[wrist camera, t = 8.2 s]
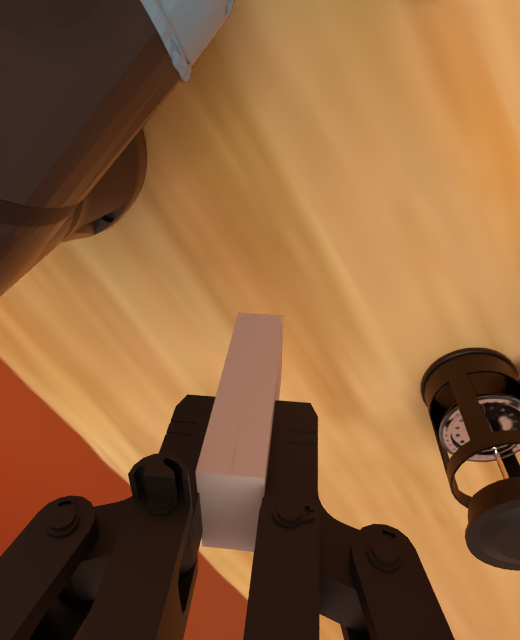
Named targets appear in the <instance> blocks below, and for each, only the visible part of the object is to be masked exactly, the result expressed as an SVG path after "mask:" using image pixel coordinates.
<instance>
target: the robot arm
mask: <svg viewBox="0 0 520 640" xmlns="http://www.w3.org/2000/svg"><path fill="white" fill-rule="evenodd" d="M233 3H234V0H0V296H1V295H2V294H4V293H5V292H6V291H7V290H8V289H9V288H10V287H11V286H13V285H14V284H15V283H16V282H17V281H18V280H19V279H20V278H21V277H23V276H24V275H25V274H26V273H27V272H28V271H29V270H30V269H32V268H33V267H34V266H35V265H36V264H37V263H38V262H39V261H40V260H42V259H43V258H44V257H45V256H46V255H47V254H48V253H49V252H51V251H52V250H53V249H54V248H55V247H56V246H57V245H58V244H59V243H61V242H66V241H71V240H76V239H81V238H86V237H90V236H93V235H95V234H98V233H100V232H102V231H104V230H106V229H107V228H109V227H110V226H112V225H113V224H114V223H116V222H117V221H118V220H119V219H120V218H121V217H122V216H123V215H124V214H125V213H126V212H127V211H128V209H129V208H130V207H131V206H132V205H133V203H134V202H135V200H136V198H137V197H138V195H139V193H140V190H141V188H142V185H143V182H144V178H145V172H146V161H147V158H146V144H145V139H144V134H143V130H142V127H143V126H144V125H145V123H146V122H147V121H148V120H149V118H150V117H151V116H152V115H153V113H154V112H155V111H156V110H157V109H158V107H159V106H160V105H161V104H162V102H163V101H164V100H165V99H166V97H167V96H168V95H169V94H170V93H171V91H172V90H173V89H174V88H175V86H176V85H177V84H178V83H179V81H180V80H182V81H183V82H187V81H188V80H189V78H190V77H191V75H192V71H191V68H192V66H193V65H194V63H195V62H196V61H197V59H198V58H199V56H200V55H201V54H202V52H203V51H204V50H205V48H206V47H207V46H208V44H209V43H210V42H211V40H212V39H213V38H214V36H215V35H216V34H217V32H218V31H219V30H220V28H221V27H222V25H223V24H224V23H225V21H226V20H227V18H228V16H229V14H230V12H231V9H232V6H233ZM283 318H284V316H281V315H265V314H249V313H238V316H237V320H236V324H235V328H234V331H233V335H232V339H231V342H230V346H229V350H228V353H227V357H226V361H225V364H224V368H223V372H222V376H221V379H220V383H219V387H218V390H217V394H216V397H212V396H199V395H187V396H186V397H185V398H184V399H183V400H182V401H181V402H180V403H179V404H178V405H177V406H176V408H175V410H174V413H173V416H172V419H171V423H170V424H169V427H168V430H167V434H166V435H165V438H164V440H163V443H162V446H161V449H160V451H159V454H153V455H150V456H147V457H145V458H143V459H141V460H140V461H139V462H137V463H136V464H135V465H134V466H133V467H132V469H131V470H130V472H129V473H128V476H129V481H130V486H131V490H132V494H133V496H132V497H130V498H128V499H126V500H123V501H119V502H116V503H111V504H106V505H101V506H96V507H93V505H92V504H91V502H90V501H88V500H87V499H85V498H84V497H80V496H66V497H62V498H59V499H57V500H55V501H53V502H51V503H49V504H47V505H46V506H45V507H44V508H43V509H42V510H40V511H39V512H38V513H37V514H36V516H35V517H34V518H33V519H32V520H31V522H30V523H29V524H28V525H27V526H26V527H25V529H24V530H23V531H22V532H21V533H20V535H19V536H18V537H17V538H16V539H15V540H14V541H13V543H12V544H11V545H10V546H9V547H8V549H7V550H6V551H5V552H4V553H3V554H2V556H1V557H0V640H183V638H184V633H185V628H186V624H187V619H188V614H189V610H190V605H191V600H192V596H193V591H194V586H195V581H196V577H197V572H198V550H199V546H200V541H201V537H202V546H205V547H215V548H224V549H234V550H244V551H253V552H254V557H253V565H252V573H251V581H250V590H249V598H248V606H247V614H246V622H245V630H244V638H243V640H319V614H321V615H323V616H325V617H327V618H329V619H331V620H333V621H335V622H337V623H339V624H340V625H341V629H342V633H343V637H344V640H455V639H454V637H453V635H452V632H451V630H450V628H449V625H448V623H447V621H446V618H445V616H444V614H443V612H442V609H441V607H440V605H439V602H438V600H437V598H436V595H435V593H434V591H433V589H432V586H431V584H430V582H429V579H428V577H427V575H426V572H425V570H424V568H423V565H422V563H421V561H420V559H419V556H418V554H417V552H416V549H415V548H414V546H413V545H412V543H411V542H410V540H409V539H408V537H406V536H405V535H404V534H403V533H401V532H400V531H399V530H398V529H395V528H393V527H390V526H388V525H383V524H372V525H369V526H366V527H363V528H362V529H361V530H358V529H356V528H353V527H351V526H348V525H346V524H344V523H342V522H340V521H338V520H336V519H334V518H333V517H332V516H331V515H330V514H328V513H327V512H326V510H325V509H324V508H323V506H322V504H321V502H320V500H319V496H318V416H317V414H316V412H315V411H314V409H313V407H312V405H311V403H303V402H290V401H279V393H280V383H281V365H282V341H283Z"/></svg>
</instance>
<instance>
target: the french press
mask: <svg viewBox="0 0 520 640" xmlns="http://www.w3.org/2000/svg"><path fill="white" fill-rule="evenodd" d="M483 372H489V373H497V374H501V375H504V377H505V386H504V389H503V392H502V393H501V394H500V393H483V394H477V395H476V394H475V392H474V389H473V387H472V385H471V382H470V380H469V378H468V374H473V373H483ZM448 383H450V386H451V389H452V392H453V394H454V397H455V400H456V404H455V405H453V406H452V407H451V408H450V409H449V408H446V407H445V406H443V405H442V404H440V403H439V401H438V400H437V399H436V397H435V396H436V395H437V393H438V392H439V391H440V390H441V389H442V388H443V387H444V386H445V385H447V384H448ZM421 394H422V398H423V401H424V403H425V404H426V406H427V408H428V411H429V415H430V418H431V422H432V425H433V429H434V432H435V436H436V439H437V443H438V446H439V450H440V453H441V457H442V460H443V464H444V467H445V471H446V474H447V478H448V481H449V485H450V488H451V492H452V494H453V495H454V497H455V499H456V500H457V501H458V502H459V503H460V504H462V505H463V506H465V507H467V508H468V525H467V528H466V531H465V540H466V544H467V547H468V549H469V550H470V552H471V553H472V554H473V555H474V556H475V557H476V558H477V559H479V560H481V561H482V562H484V563H486V564H489V565H491V566H494V567H498V568H502V569H508V570H520V465H519V462H518V460H517V458H516V456H515V453H517V452H518V451H520V379H519V375H518V372H517V369H516V367H515V366H514V364H513V363H512V362H511V360H509V359H508V358H507V357H506V356H504V355H503V354H501V353H499V352H496V351H493V350H490V349H484V348H467V349H462V350H457V351H455V352H452V353H449V354H447V355H445V356H443V357H442V358H440V359H438V360H437V361H436V362H435V363H433V364H432V365H431V366H430V368H429V369H428V370H427V371H426V373H425V375H424V376H423V379H422V383H421ZM447 451H448V452H449V453H450V454H452V457H451V458H450V460H449V456H448V453H447ZM466 460H467V461H474V462H489V461H495V460H496V461H497V463H498V466H499V468H500V471H501V473H502V476H503V478H504V479H503V480H500V481H497V482H495V483H492V484H490V485H488V486H486V487H484V488H482V489H481V490H479V491H478V492H477V493H476V494H475V495H473V497H470V496H468V495H466V494H464V493H462V492H461V491H459V490H458V486H457V483H456V480H455V476H454V475H455V473H456V471H457V470H458V468H459V467H460V466H461V465H462V464H463V463H464V462H465V461H466Z"/></svg>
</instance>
